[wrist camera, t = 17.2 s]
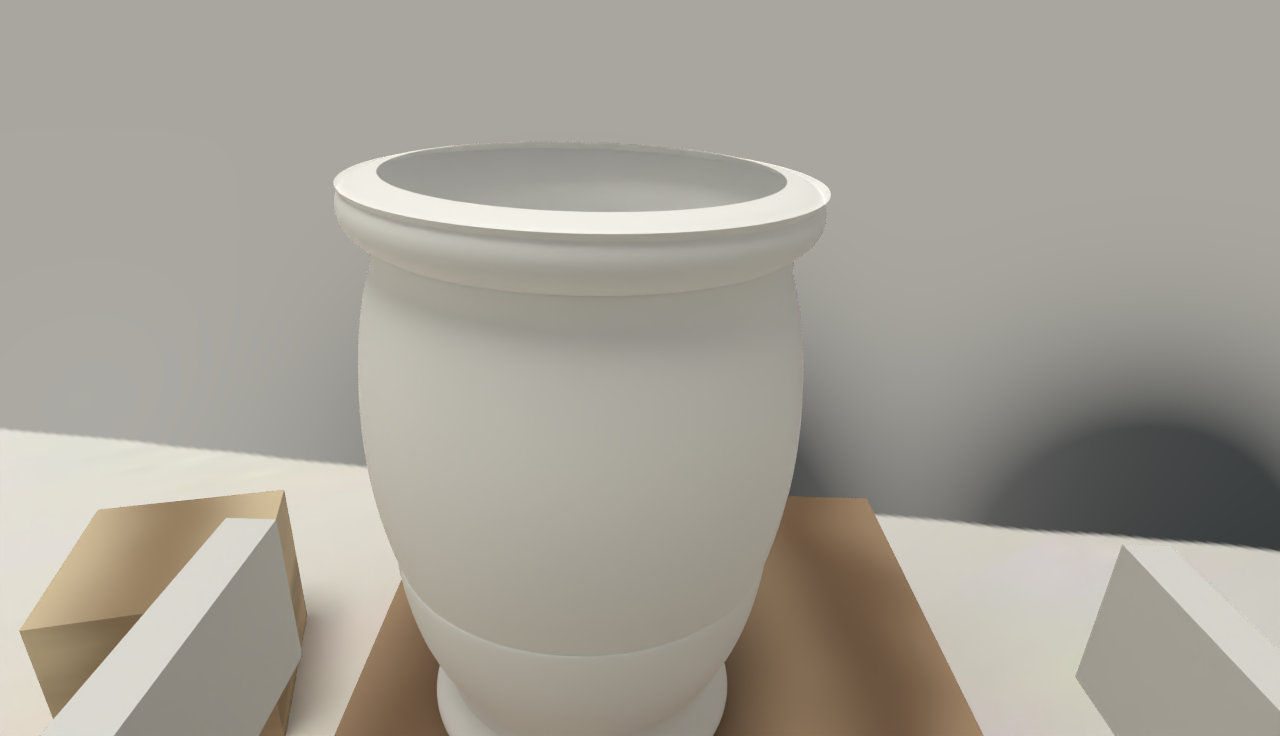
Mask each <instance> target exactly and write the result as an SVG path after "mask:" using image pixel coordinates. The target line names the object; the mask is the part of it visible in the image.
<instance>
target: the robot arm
mask: <svg viewBox="0 0 1280 736" xmlns="http://www.w3.org/2000/svg"><path fill="white" fill-rule="evenodd" d="M301 657H302V652H301V647H300V641H299V636H298V631H297V626H296V620H295V615H294V610H293V605H292V599H291V594H290V589H289V584H288V578H287V573H286V568H285V563H284V557H283V552H282V547H281V542H280V536H279V531H278V526H277V521H276V519H247V518H226V519H225V520H224V521H223V522H222V523H221V524H220V526H219V527H218V528H217V529H216V530H215V531H214V533H213V534H212V535H211V536H210V537H209V538H208V540H207V541H206V542H205V543H204V544H203V545H202V547H201V548H200V549H199V550H198V551H197V552H196V554H195V555H194V556H193V557H192V558H191V559H190V561H189V562H188V563H187V564H186V565H185V566H184V568H183V569H182V570H181V571H180V572H179V573H178V575H177V576H176V577H175V578H174V579H173V580H172V582H171V583H170V584H169V585H168V586H167V587H166V589H165V590H164V591H163V592H162V593H161V594H160V596H159V597H158V598H157V599H156V600H155V601H154V603H153V604H152V605H151V606H150V607H149V608H148V610H147V611H146V612H145V613H144V614H143V615H142V617H141V618H140V619H139V620H138V621H137V622H136V624H135V625H134V626H133V627H132V628H131V629H130V631H129V632H128V633H127V634H126V635H125V636H124V638H123V639H122V640H121V641H120V642H119V643H118V645H117V646H116V647H115V648H114V649H113V650H112V652H111V653H110V654H109V655H108V656H107V657H106V659H105V660H104V661H103V662H102V663H101V664H100V666H99V667H98V668H97V669H96V670H95V671H94V673H93V674H92V675H91V676H90V677H89V678H88V680H87V681H86V682H85V683H84V684H83V685H82V687H81V688H80V689H79V690H78V691H77V692H76V694H75V695H74V696H73V697H72V698H71V699H70V701H69V702H68V703H67V704H66V705H65V706H64V708H63V709H62V710H61V711H60V712H59V713H58V715H57V716H56V717H55V718H54V719H53V720H52V722H51V723H50V724H49V725H48V726H47V727H46V729H45V730H44V731H43V732H42V733H41V734H40V736H259V734H260V733H261V731H262V729H263V727H264V725H265V723H266V722H267V720H268V718H269V716H270V714H271V712H272V711H273V709H274V707H275V705H276V703H277V701H278V700H279V698H280V696H281V694H282V692H283V690H284V689H285V687H286V685H287V683H288V681H289V679H290V677H291V676H292V674H293V672H294V670H295V668H296V666H297V665H298V663H299V661H300V659H301ZM1075 677H1076V679H1077V680H1078V682H1079V683H1080V685H1081V686H1082V688H1083V689H1084V690H1085V692H1086V693H1087V695H1088V696H1089V698H1090V699H1091V701H1092V702H1093V704H1094V705H1095V707H1096V708H1097V710H1098V711H1099V713H1100V714H1101V716H1102V717H1103V719H1104V720H1105V722H1106V723H1107V724H1108V726H1109V727H1110V729H1111V730H1112V732H1113V733H1114V735H1115V736H1280V650H1279V649H1278V648H1277V647H1275V646H1274V645H1273V644H1272V643H1271V642H1270V641H1269V640H1268V639H1267V638H1266V637H1265V636H1264V635H1263V634H1262V633H1261V632H1260V631H1259V630H1258V629H1257V628H1256V627H1255V626H1254V625H1253V624H1252V623H1251V622H1250V621H1249V620H1247V619H1246V618H1245V617H1244V616H1243V615H1242V614H1241V613H1240V612H1239V611H1238V610H1237V609H1236V608H1235V607H1234V606H1233V605H1232V604H1231V603H1230V602H1229V601H1228V600H1227V599H1226V598H1225V597H1224V596H1223V595H1222V594H1221V593H1220V592H1218V591H1217V590H1216V589H1215V588H1214V587H1213V586H1212V585H1211V584H1210V583H1209V582H1208V581H1207V580H1206V579H1205V578H1204V577H1203V576H1202V575H1201V574H1200V573H1199V572H1198V571H1197V570H1196V569H1195V568H1194V567H1193V566H1192V565H1190V564H1189V563H1188V562H1187V561H1186V560H1185V559H1184V558H1183V557H1182V556H1181V555H1180V554H1179V553H1178V552H1177V551H1176V550H1175V549H1174V548H1173V547H1172V546H1161V545H1127V544H1122V547H1121V550H1120V553H1119V556H1118V558H1117V561H1116V564H1115V567H1114V570H1113V572H1112V575H1111V578H1110V581H1109V584H1108V587H1107V589H1106V592H1105V595H1104V598H1103V601H1102V603H1101V606H1100V609H1099V612H1098V615H1097V617H1096V620H1095V623H1094V626H1093V629H1092V631H1091V634H1090V637H1089V640H1088V643H1087V645H1086V648H1085V651H1084V654H1083V657H1082V660H1081V662H1080V665H1079V668H1078V671H1077V674H1076V676H1075Z"/></svg>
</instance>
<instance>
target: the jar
mask: <svg viewBox="0 0 1280 736" xmlns="http://www.w3.org/2000/svg"><path fill="white" fill-rule="evenodd" d="M334 187H335V188H336V192H335V197H334V208H335V213H336V217H337V220H338V222H339V224H340V226H341V228H342V229H343V231H344V232H345V234H346V235H347V236H348V237H349V238H350V239H351V240H352V241H354V242H355V243H356V244H357V245H358V246H360V247H361V248H363V249H364V250H365V251H367V252H368V254H369V269H368V273H367V277H366V282H365V287H364V292H363V298H362V305H361V314H360V326H359V347H358V385H359V405H360V419H361V428H362V437H363V444H364V450H365V456H366V462H367V467H368V472H369V477H370V481H371V485H372V489H373V493H374V497H375V501H376V504H377V508H378V511H379V514H380V517H381V520H382V523H383V526H384V529H385V532H386V534H387V537H388V540H389V542H390V545H391V547H392V549H393V552H394V554H395V556H396V558H397V560H398V564H399V570H400V574H401V578H402V582H403V586H404V589H405V593H406V596H407V599H408V602H409V605H410V607H411V610H412V613H413V615H414V618H415V620H416V623H417V625H418V627H419V630H420V632H421V634H422V636H423V638H424V640H425V642H426V644H427V645H428V647H429V649H430V651H431V652H432V654H433V655H434V657H435V659H436V660H437V662H438V663H439V664H440V667H439V671H438V678H437V700H438V707H439V711H440V715H441V718H442V721H443V724H444V726H445V728H446V731H447V733H448V735H449V736H713V735H714V733H715V731H716V729H717V727H718V725H719V723H720V721H721V718H722V715H723V712H724V708H725V703H726V697H727V674H726V668H725V663H724V662H725V661H726V659H727V658H728V656H729V655H730V653H731V651H732V650H733V648H734V646H735V644H736V643H737V641H738V639H739V637H740V635H741V633H742V631H743V629H744V626H745V624H746V622H747V619H748V617H749V614H750V612H751V609H752V606H753V603H754V600H755V597H756V594H757V591H758V588H759V584H760V581H761V577H762V573H763V568H764V564H765V562H766V559H767V557H768V554H769V552H770V549H771V547H772V544H773V542H774V539H775V536H776V533H777V530H778V528H779V524H780V521H781V518H782V515H783V512H784V508H785V505H786V501H787V497H788V493H789V489H790V485H791V481H792V476H793V471H794V466H795V461H796V454H797V449H798V441H799V434H800V424H801V413H802V396H803V342H802V325H801V316H800V307H799V300H798V294H797V290H796V284H795V280H794V275H793V265H794V261H795V260H797V259H798V258H799V257H801V256H803V255H804V254H805V253H807V252H808V251H809V250H810V249H811V248H812V247H813V246H814V245H815V244H816V242H817V241H818V240H819V238H820V237H821V235H822V233H823V230H824V228H825V224H826V206H825V204H826V203H827V202H828V201H829V199H830V196H831V193H830V190H829V189H828V187H827V186H826V185H824V184H823V183H822V182H820V181H818V180H816V179H815V178H813V177H810V176H808V175H806V174H803V173H800V172H797V171H794V170H791V169H788V168H784V167H780V166H776V165H773V164H768V163H763V162H759V161H754V160H749V159H743V158H738V157H733V156H728V155H722V154H716V153H710V152H703V151H696V150H688V149H679V148H671V147H660V146H649V145H636V144H621V143H600V142H561V141H560V142H558V141H555V142H553V141H544V142H543V141H540V142H502V143H484V144H469V145H457V146H447V147H439V148H431V149H424V150H418V151H412V152H406V153H401V154H396V155H391V156H386V157H381V158H377V159H373V160H369V161H366V162H362V163H359V164H357V165H354V166H352V167H349V168H347V169H345V170H344V171H342V172H340V173H339V174H338V175H337V176H336V177H335V179H334Z"/></svg>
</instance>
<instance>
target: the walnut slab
mask: <svg viewBox="0 0 1280 736" xmlns="http://www.w3.org/2000/svg"><path fill="white" fill-rule="evenodd" d="M724 663H725V668H726V674H727V697H726V703H725V708H724V712H723V715H722V718H721V721H720V723H719V725H718V727H717V729H716V731H715V733H714V735H713V736H983V734H982V732H981V730H980V728H979V726H978V724H977V722H976V720H975V718H974V716H973V713H972V711H971V709H970V707H969V705H968V703H967V701H966V699H965V697H964V695H963V693H962V691H961V689H960V687H959V685H958V683H957V681H956V679H955V677H954V675H953V673H952V671H951V669H950V667H949V665H948V663H947V661H946V659H945V657H944V655H943V653H942V651H941V649H940V647H939V644H938V642H937V640H936V638H935V636H934V634H933V632H932V630H931V628H930V626H929V624H928V622H927V620H926V618H925V616H924V614H923V612H922V610H921V608H920V606H919V604H918V602H917V600H916V598H915V596H914V594H913V592H912V590H911V588H910V586H909V584H908V582H907V580H906V578H905V575H904V573H903V571H902V569H901V567H900V565H899V563H898V561H897V559H896V557H895V555H894V553H893V551H892V549H891V547H890V545H889V543H888V541H887V539H886V537H885V535H884V533H883V531H882V529H881V527H880V525H879V523H878V521H877V519H876V517H875V515H874V513H873V511H872V509H871V507H870V505H869V502H868V500H867V499H863V498H824V497H789V496H788V497H787V501H786V505H785V508H784V512H783V515H782V518H781V521H780V524H779V528H778V530H777V533H776V536H775V539H774V542H773V544H772V547H771V549H770V552H769V554H768V557H767V559H766V562H765V564H764V568H763V573H762V577H761V581H760V584H759V588H758V591H757V594H756V597H755V600H754V603H753V606H752V609H751V612H750V614H749V617H748V619H747V622H746V624H745V626H744V629H743V631H742V633H741V635H740V637H739V639H738V641H737V643H736V644H735V646H734V648H733V650H732V651H731V653H730V655H729V656H728V658H727V659H726V661H725V662H724ZM439 667H440V664H439V663H438V662H437V660H436V659H435V657H434V655H433V654H432V652H431V651H430V649H429V647H428V645H427V644H426V642H425V640H424V638H423V636H422V634H421V632H420V630H419V627H418V625H417V623H416V620H415V618H414V615H413V613H412V610H411V607H410V605H409V602H408V599H407V596H406V593H405V589H404V586H403V582H402V580H401V582H400V585H399V587H398V589H397V592H396V594H395V596H394V598H393V601H392V603H391V605H390V608H389V610H388V612H387V615H386V617H385V619H384V622H383V624H382V626H381V629H380V631H379V633H378V636H377V638H376V640H375V643H374V645H373V647H372V650H371V652H370V654H369V657H368V659H367V661H366V664H365V666H364V668H363V671H362V673H361V675H360V678H359V680H358V682H357V685H356V687H355V689H354V691H353V694H352V696H351V698H350V701H349V703H348V705H347V708H346V710H345V712H344V715H343V717H342V719H341V722H340V724H339V726H338V729H337V731H336V733H335V736H449V735H448V733H447V731H446V728H445V726H444V724H443V721H442V718H441V715H440V711H439V707H438V700H437V678H438V671H439Z"/></svg>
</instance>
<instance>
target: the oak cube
mask: <svg viewBox="0 0 1280 736" xmlns="http://www.w3.org/2000/svg"><path fill="white" fill-rule="evenodd" d="M226 518H247V519H276V521H277V526H278V531H279V536H280V542H281V547H282V552H283V557H284V563H285V568H286V573H287V578H288V584H289V589H290V594H291V599H292V605H293V610H294V615H295V620H296V626H297V631H298V636H299V641H300V647H301V646H302V640H303V635H304V629H305V624H306V618H307V612H306V606H305V601H304V595H303V590H302V585H301V579H300V574H299V568H298V563H297V557H296V552H295V546H294V541H293V536H292V530H291V525H290V519H289V514H288V508H287V503H286V498H285V492H284V490H278V491H269V492H260V493H250V494H241V495H232V496H222V497H213V498H204V499H194V500H185V501H176V502H166V503H157V504H148V505H138V506H129V507H120V508H110V509H101V510H98V511H97V512H96V514H95V515H94V517H93V518H92V520H91V521H90V523H89V525H88V526H87V528H86V529H85V531H84V532H83V534H82V535H81V537H80V538H79V540H78V541H77V543H76V545H75V546H74V548H73V549H72V551H71V552H70V554H69V555H68V557H67V558H66V560H65V561H64V563H63V565H62V566H61V568H60V569H59V571H58V572H57V574H56V575H55V577H54V578H53V580H52V581H51V583H50V585H49V586H48V588H47V589H46V591H45V592H44V594H43V595H42V597H41V598H40V600H39V601H38V603H37V605H36V606H35V608H34V609H33V611H32V612H31V614H30V615H29V617H28V618H27V620H26V621H25V623H24V625H23V626H22V628H21V629H20V634H21V636H22V639H23V642H24V644H25V647H26V649H27V652H28V655H29V657H30V660H31V662H32V665H33V668H34V670H35V673H36V675H37V678H38V681H39V683H40V686H41V688H42V691H43V694H44V696H45V699H46V701H47V704H48V707H49V709H50V712H51V714H52V717H53V719H54V718H55V717H56V716H57V715H58V713H59V712H60V711H61V710H62V709H63V708H64V706H65V705H66V704H67V703H68V702H69V701H70V699H71V698H72V697H73V696H74V695H75V694H76V692H77V691H78V690H79V689H80V688H81V687H82V685H83V684H84V683H85V682H86V681H87V680H88V678H89V677H90V676H91V675H92V674H93V673H94V671H95V670H96V669H97V668H98V667H99V666H100V664H101V663H102V662H103V661H104V660H105V659H106V657H107V656H108V655H109V654H110V653H111V652H112V650H113V649H114V648H115V647H116V646H117V645H118V643H119V642H120V641H121V640H122V639H123V638H124V636H125V635H126V634H127V633H128V632H129V631H130V629H131V628H132V627H133V626H134V625H135V624H136V622H137V621H138V620H139V619H140V618H141V617H142V615H143V614H144V613H145V612H146V611H147V610H148V608H149V607H150V606H151V605H152V604H153V603H154V601H155V600H156V599H157V598H158V597H159V596H160V594H161V593H162V592H163V591H164V590H165V589H166V587H167V586H168V585H169V584H170V583H171V582H172V580H173V579H174V578H175V577H176V576H177V575H178V573H179V572H180V571H181V570H182V569H183V568H184V566H185V565H186V564H187V563H188V562H189V561H190V559H191V558H192V557H193V556H194V555H195V554H196V552H197V551H198V550H199V549H200V548H201V547H202V545H203V544H204V543H205V542H206V541H207V540H208V538H209V537H210V536H211V535H212V534H213V533H214V531H215V530H216V529H217V528H218V527H219V526H220V524H221V523H222V522H223V521H224V520H225V519H226ZM297 668H298V665H297V666H296V668H295V670H294V672H293V674H292V676H291V677H290V679H289V681H288V683H287V685H286V687H285V689H284V690H283V692H282V694H281V696H280V698H279V700H278V701H277V703H276V705H275V707H274V709H273V711H272V712H271V714H270V716H269V718H268V720H267V722H266V723H265V725H264V727H263V729H262V731H261V733H260V734H259V736H285V734H286V728H287V723H288V717H289V712H290V706H291V701H292V695H293V690H294V684H295V679H296V673H297Z"/></svg>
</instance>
